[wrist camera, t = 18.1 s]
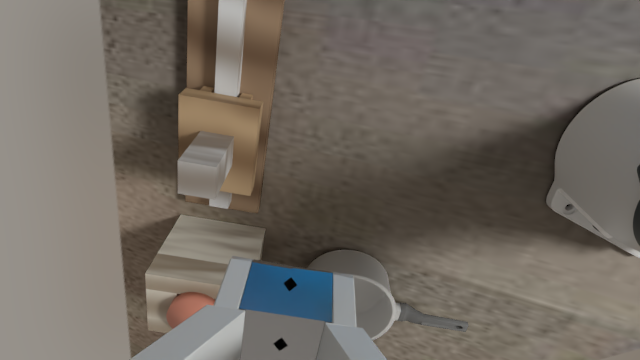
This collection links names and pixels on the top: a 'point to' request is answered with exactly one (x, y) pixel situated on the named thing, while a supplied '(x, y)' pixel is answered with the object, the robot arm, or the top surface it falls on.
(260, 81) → the rail track
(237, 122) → the carriage
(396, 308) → the saucepan
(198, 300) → the button
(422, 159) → the top surface
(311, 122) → the top surface
